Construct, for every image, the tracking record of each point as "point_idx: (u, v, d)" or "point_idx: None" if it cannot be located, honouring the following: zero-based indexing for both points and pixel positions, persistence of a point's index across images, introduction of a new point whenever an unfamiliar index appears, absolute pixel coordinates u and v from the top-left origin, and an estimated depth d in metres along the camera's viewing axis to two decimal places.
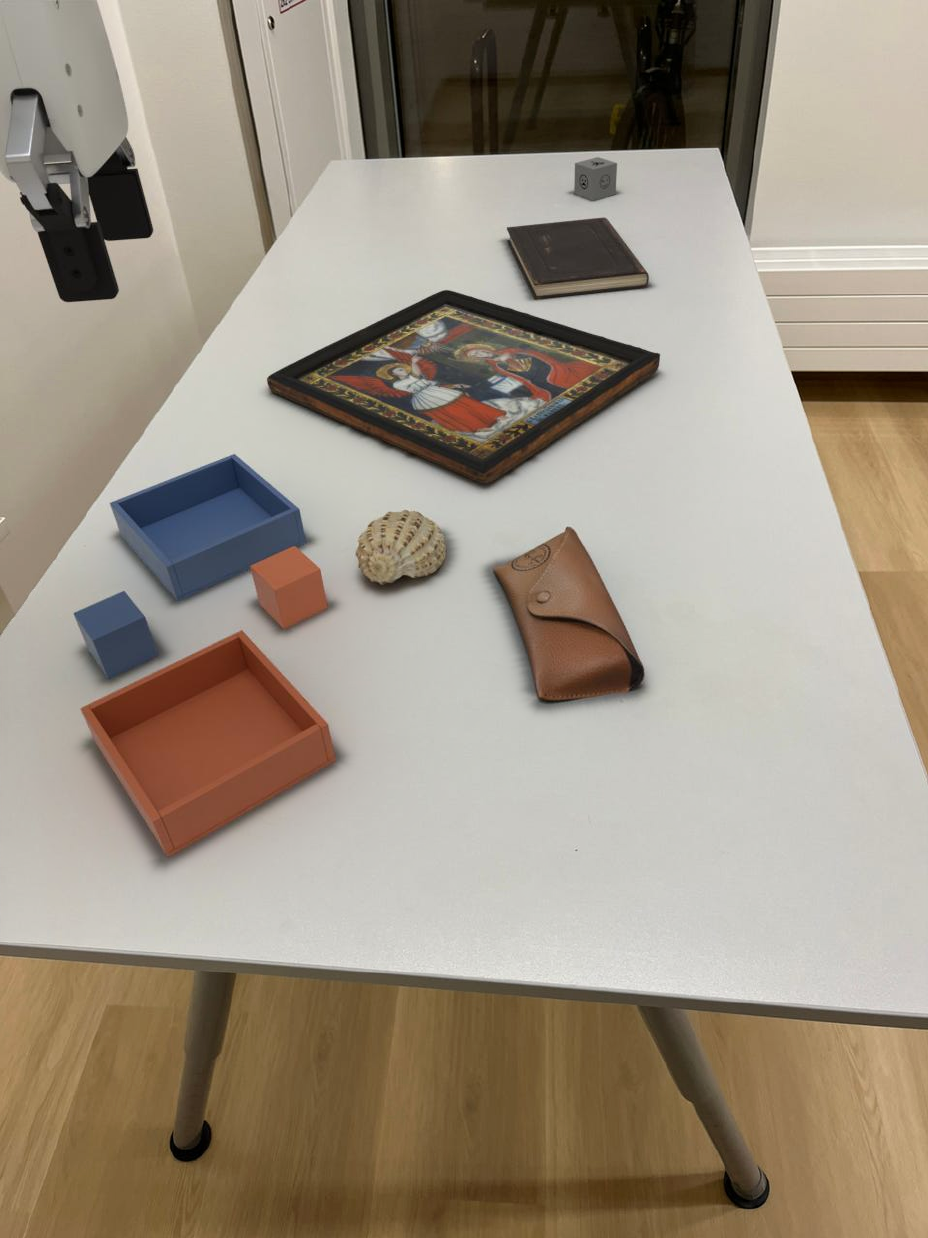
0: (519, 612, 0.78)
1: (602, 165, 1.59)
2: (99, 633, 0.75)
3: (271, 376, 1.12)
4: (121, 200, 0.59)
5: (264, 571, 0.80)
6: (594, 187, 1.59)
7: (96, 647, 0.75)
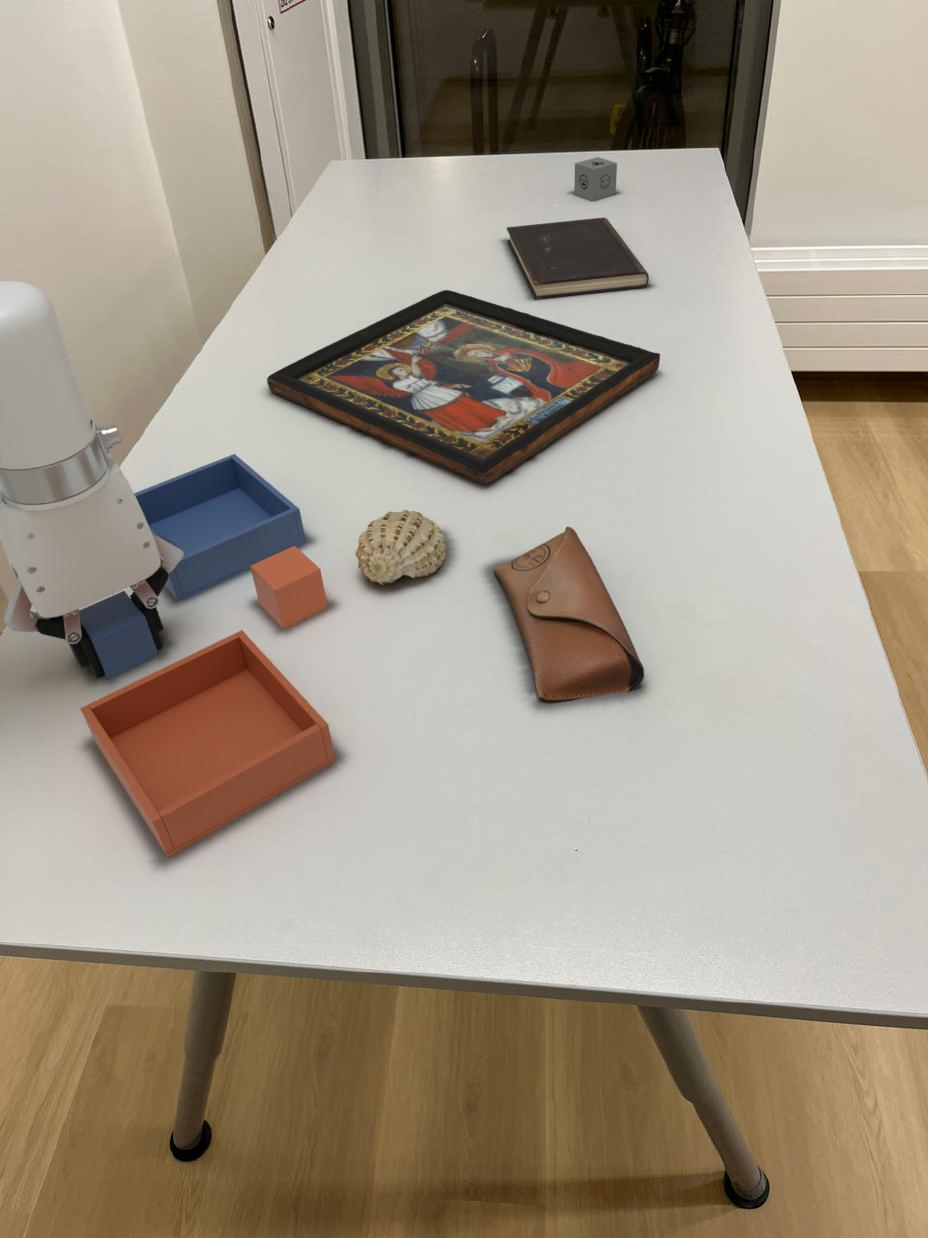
0: (519, 612, 0.78)
1: (602, 165, 1.59)
2: (99, 633, 0.75)
3: (271, 376, 1.12)
4: None
5: (264, 571, 0.80)
6: (594, 187, 1.59)
7: (96, 647, 0.75)
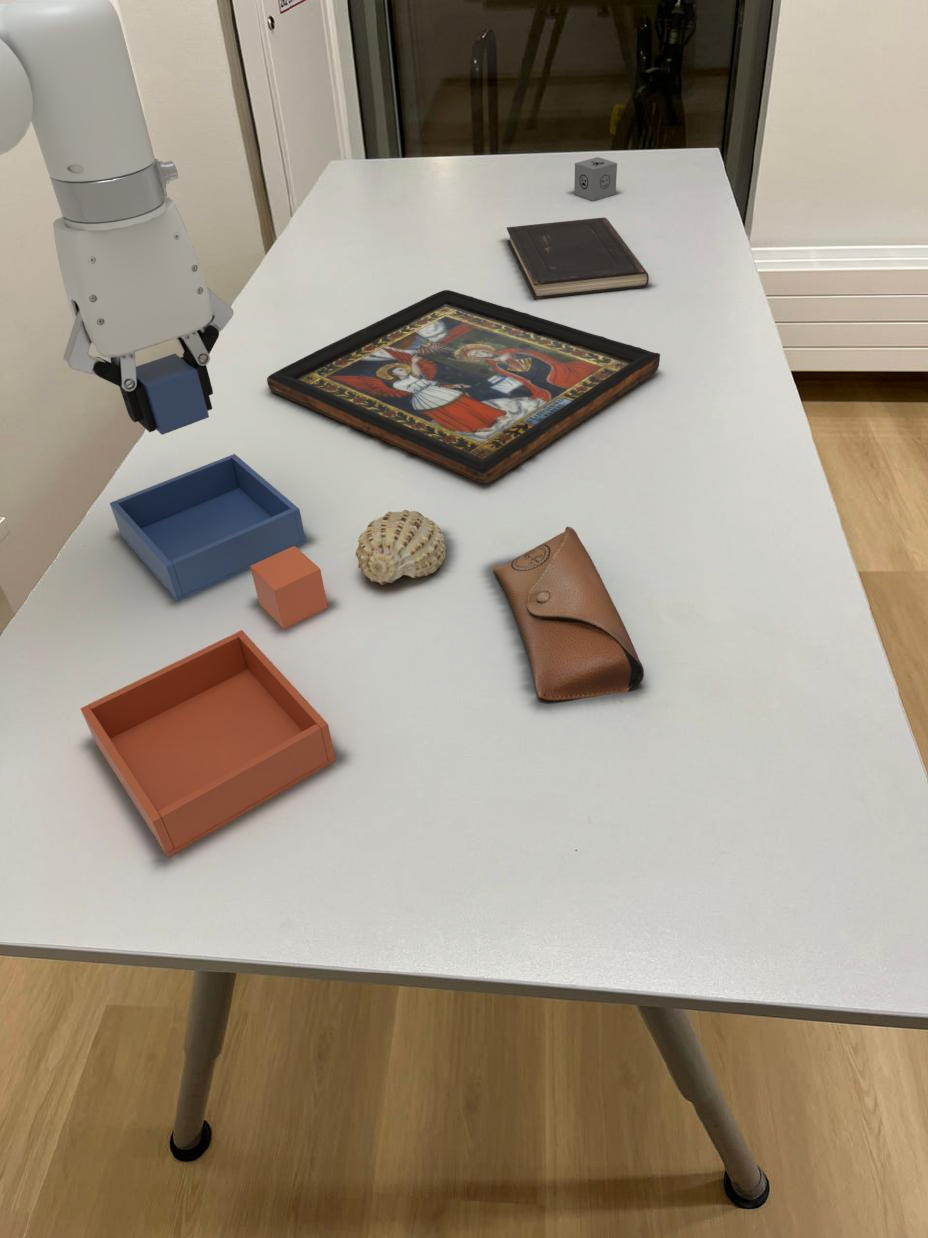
0: (519, 612, 0.78)
1: (602, 165, 1.59)
2: (153, 382, 0.77)
3: (271, 376, 1.12)
4: None
5: (264, 571, 0.80)
6: (594, 187, 1.59)
7: (151, 396, 0.77)
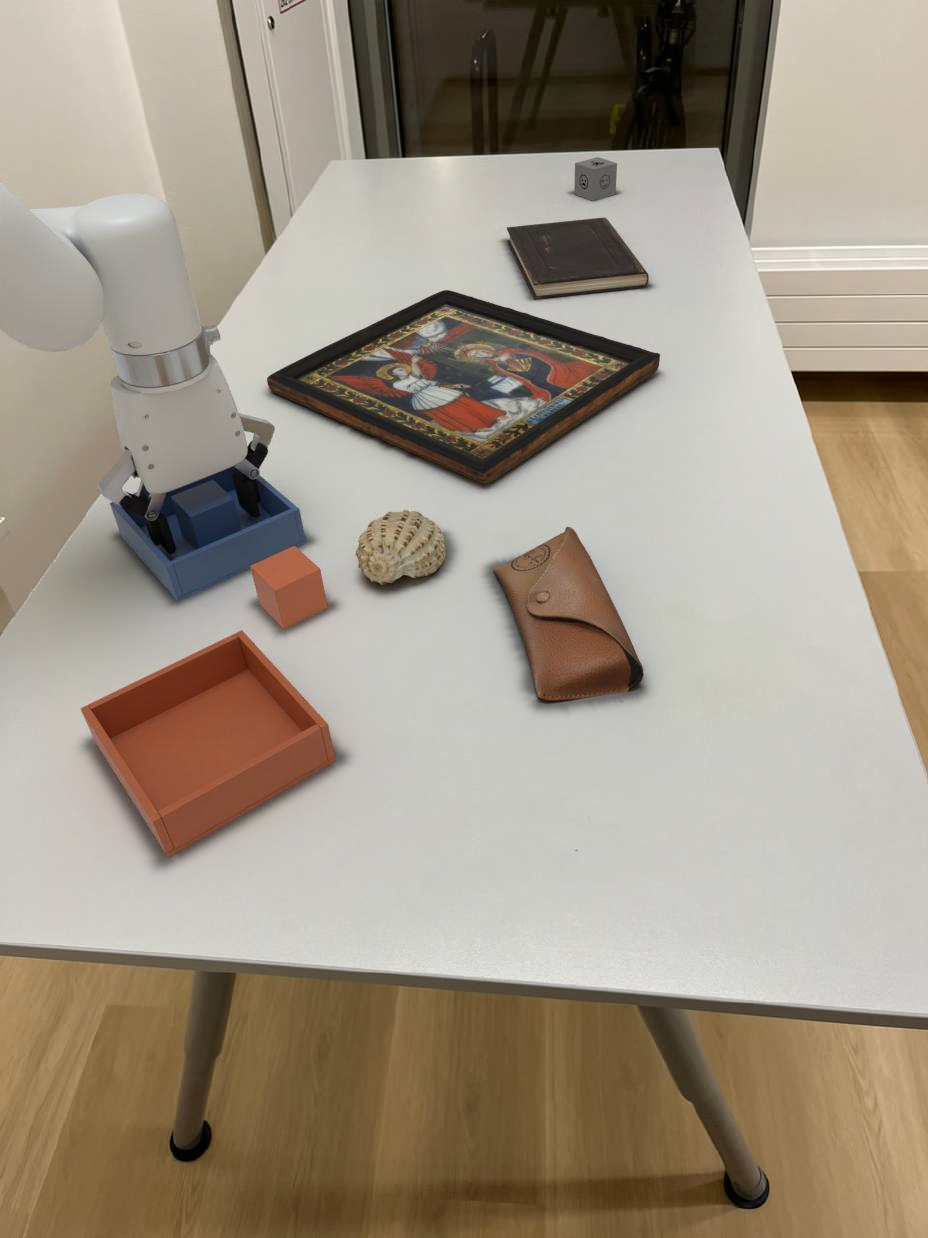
0: (518, 612, 0.78)
1: (602, 165, 1.59)
2: (195, 511, 0.86)
3: (271, 376, 1.12)
4: (243, 493, 0.90)
5: (264, 571, 0.80)
6: (594, 187, 1.59)
7: (193, 523, 0.86)
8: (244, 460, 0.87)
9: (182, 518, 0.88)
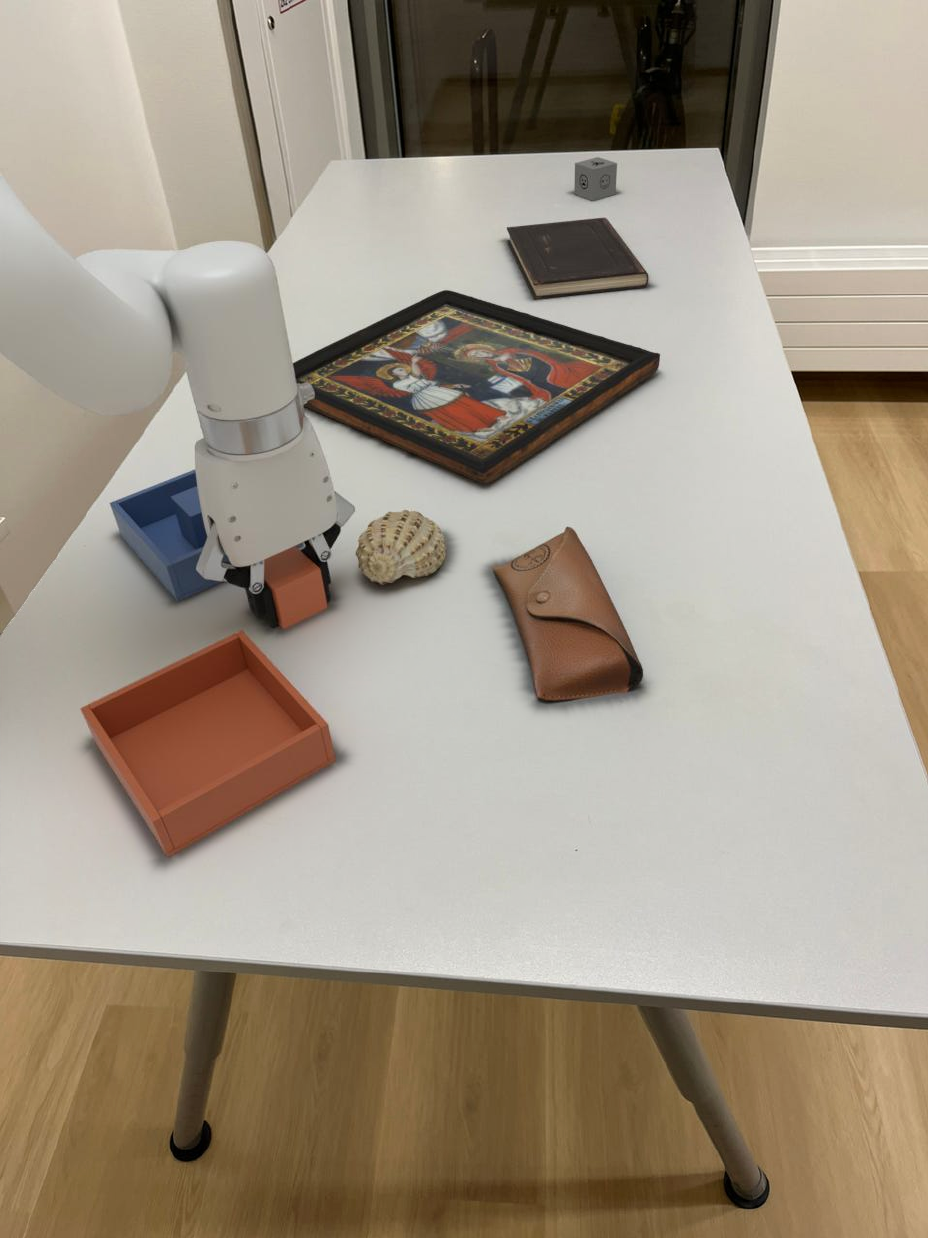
0: (518, 612, 0.78)
1: (602, 165, 1.59)
2: (195, 511, 0.86)
3: None
4: None
5: (264, 571, 0.80)
6: (594, 187, 1.59)
7: (193, 523, 0.86)
8: (322, 538, 0.79)
9: (182, 518, 0.88)
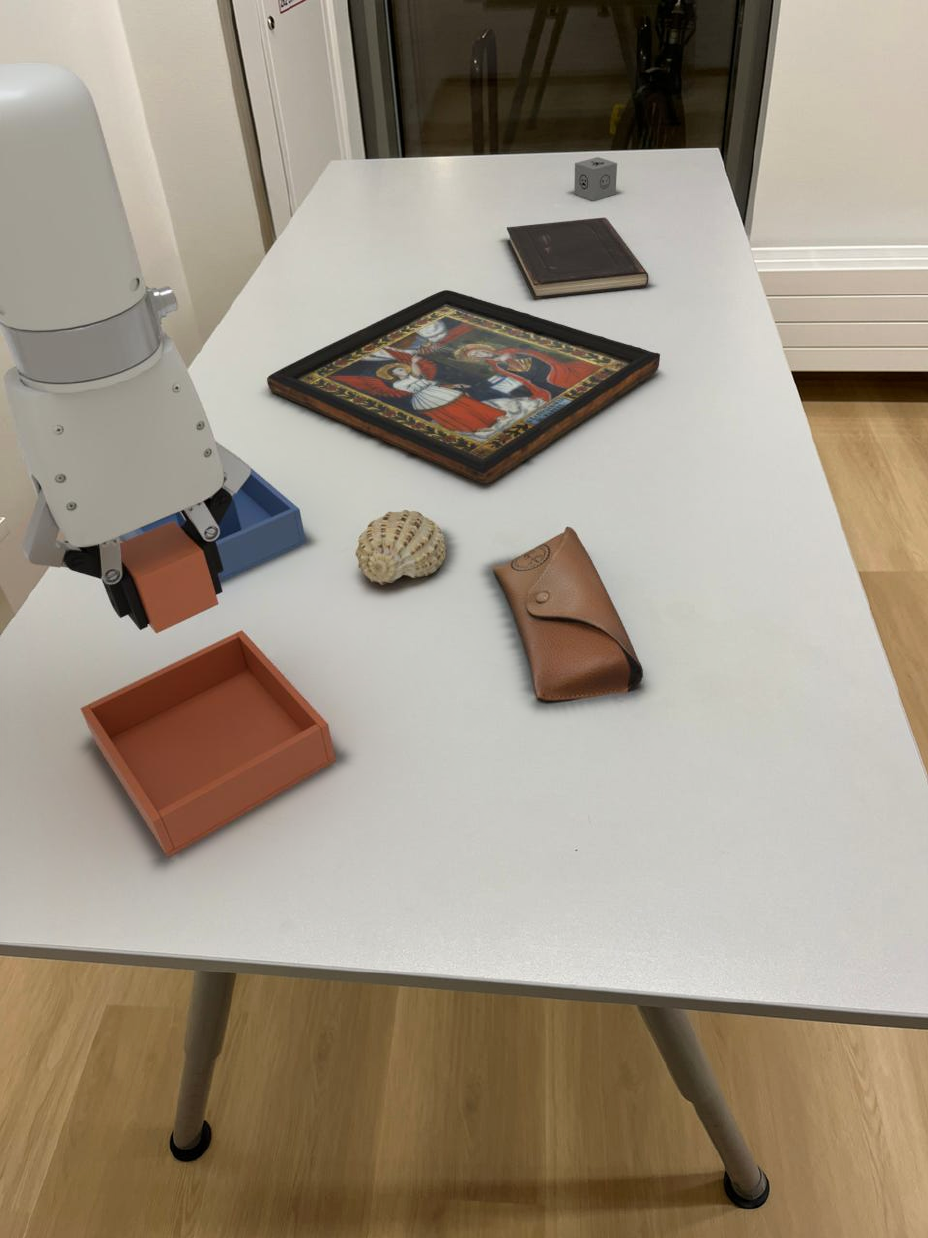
0: (518, 612, 0.78)
1: (602, 165, 1.59)
2: None
3: (271, 376, 1.12)
4: None
5: (127, 554, 0.59)
6: (594, 187, 1.59)
7: None
8: (204, 509, 0.59)
9: (182, 518, 0.88)
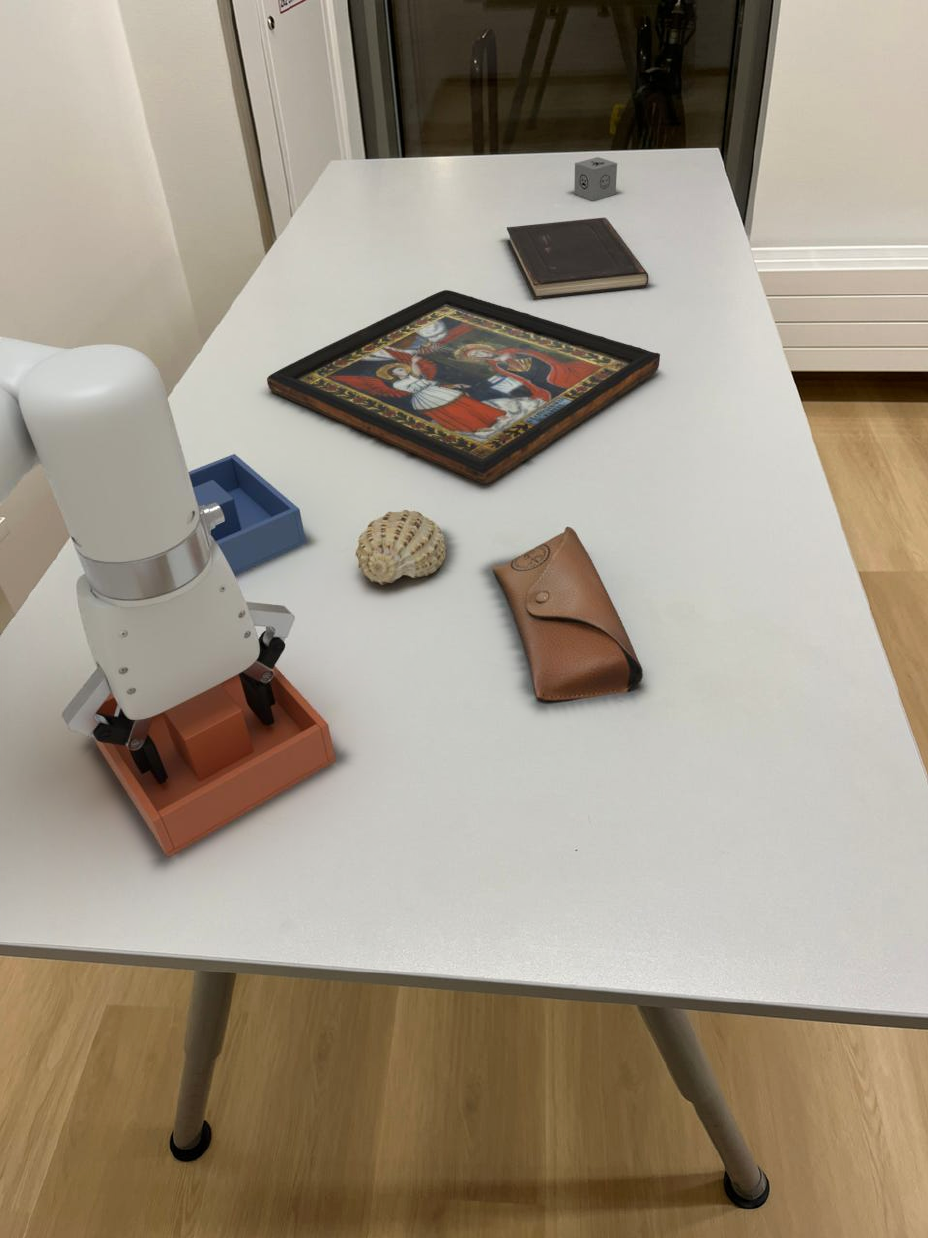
0: (518, 612, 0.78)
1: (602, 165, 1.59)
2: None
3: (271, 376, 1.12)
4: (252, 697, 0.70)
5: (175, 713, 0.67)
6: (594, 187, 1.59)
7: None
8: (255, 662, 0.67)
9: None
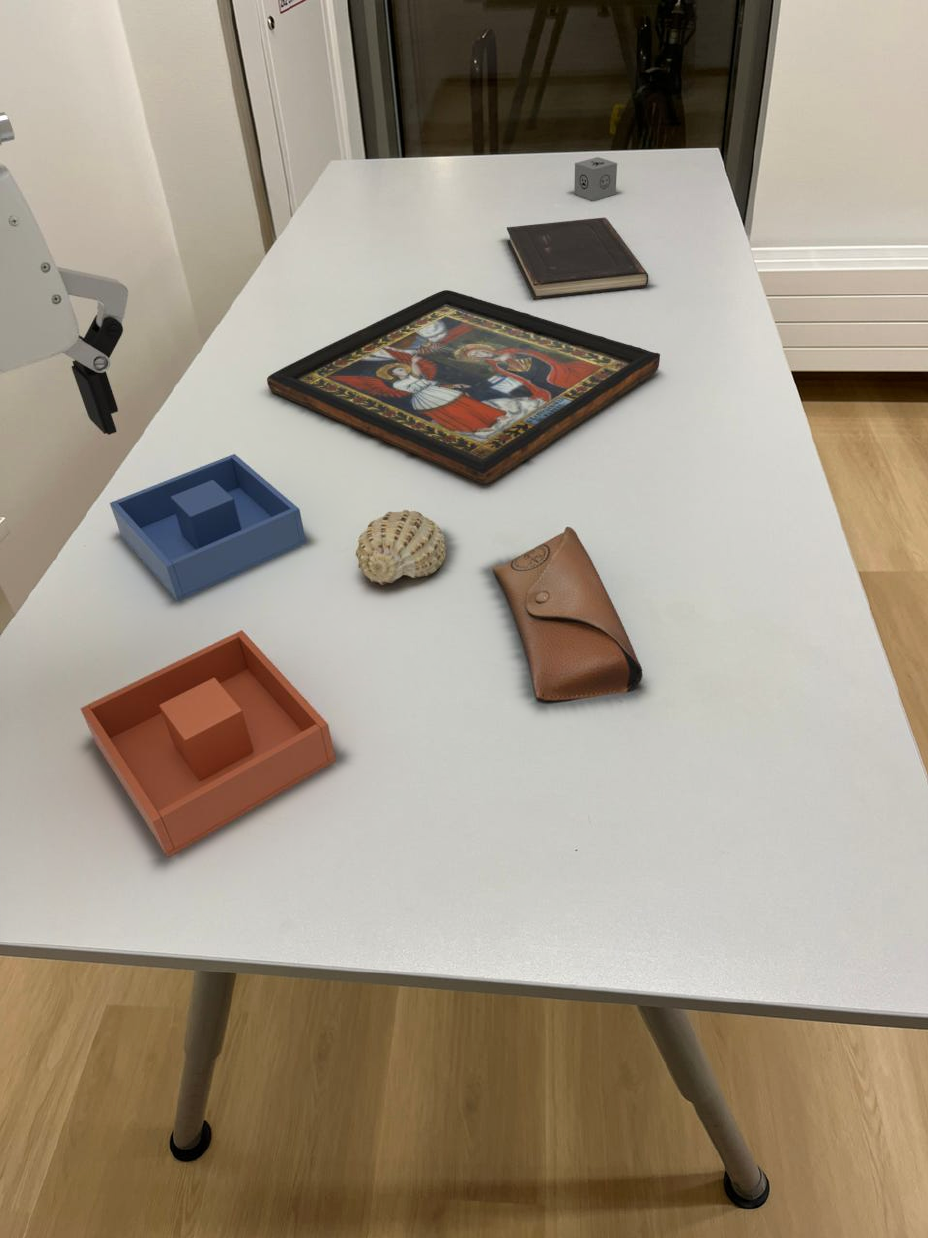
0: (518, 612, 0.78)
1: (602, 165, 1.59)
2: (195, 511, 0.86)
3: (271, 376, 1.12)
4: (88, 396, 0.59)
5: (175, 713, 0.67)
6: (594, 187, 1.59)
7: (193, 523, 0.86)
8: (79, 341, 0.56)
9: (182, 518, 0.88)
